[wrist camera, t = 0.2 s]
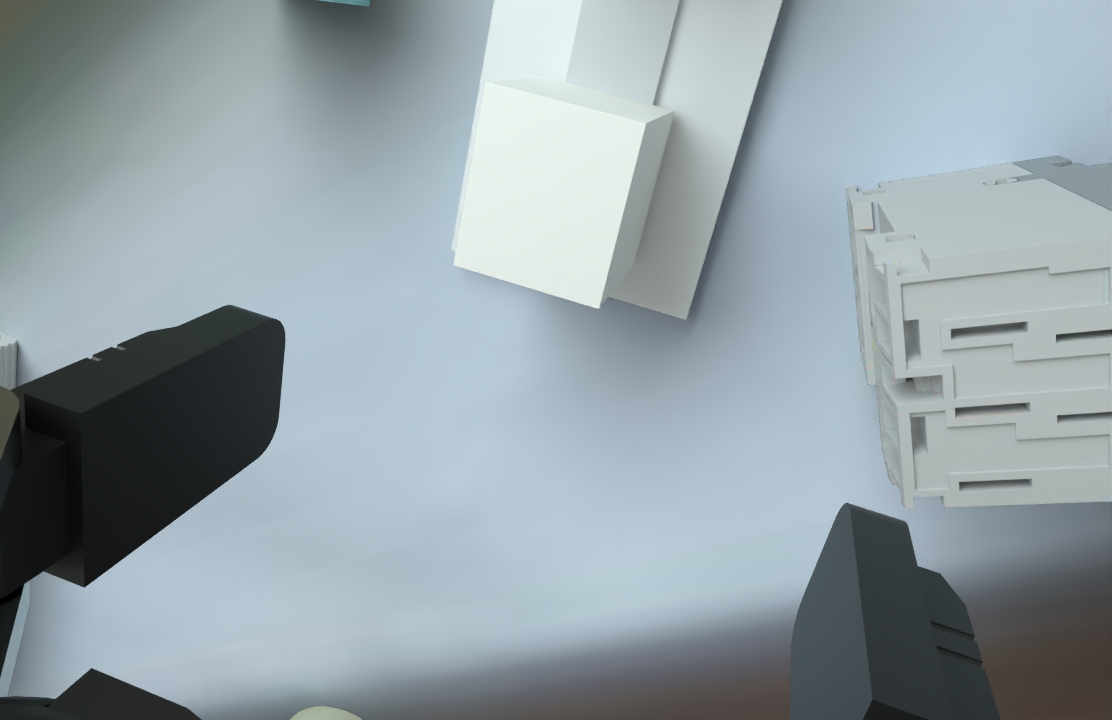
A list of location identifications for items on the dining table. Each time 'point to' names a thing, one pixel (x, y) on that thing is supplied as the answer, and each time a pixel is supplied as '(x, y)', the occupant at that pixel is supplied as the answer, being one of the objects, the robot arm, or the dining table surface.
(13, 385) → the aluminum extrusion profile
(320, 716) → the reusable coffee cup
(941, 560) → the dining table surface
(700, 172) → the rail panel
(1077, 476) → the circuit breaker
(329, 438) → the dining table surface
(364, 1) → the block
